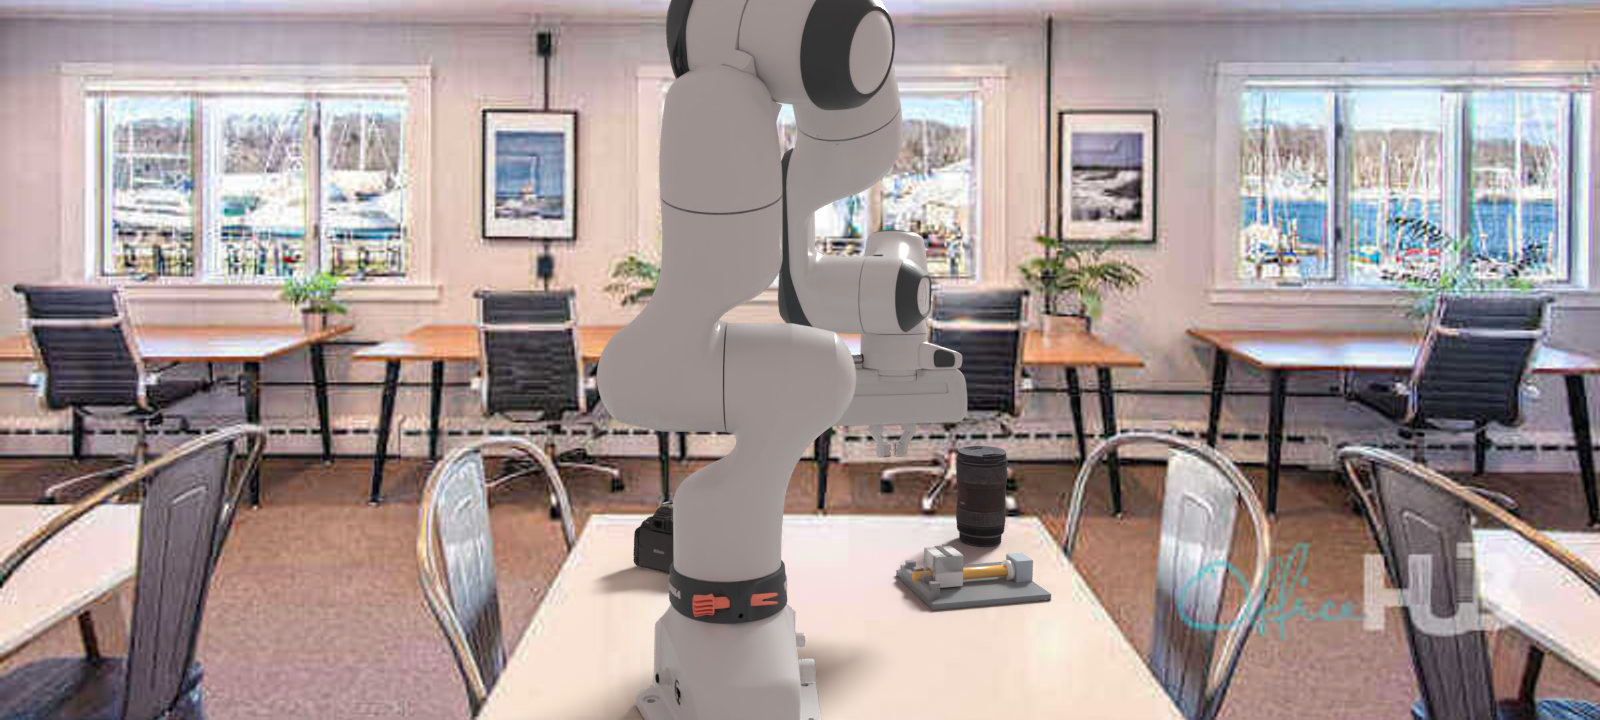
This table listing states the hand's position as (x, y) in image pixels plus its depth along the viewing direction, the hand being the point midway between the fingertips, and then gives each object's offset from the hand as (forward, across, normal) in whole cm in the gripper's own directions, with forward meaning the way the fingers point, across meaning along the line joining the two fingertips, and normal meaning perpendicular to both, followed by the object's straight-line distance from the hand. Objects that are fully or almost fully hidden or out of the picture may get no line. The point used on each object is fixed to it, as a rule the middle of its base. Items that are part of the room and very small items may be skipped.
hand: (891, 456), depth 126 cm
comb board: (+19, +12, 0) cm, 23 cm away
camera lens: (+19, +22, +20) cm, 36 cm away
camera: (+19, -27, +17) cm, 37 cm away
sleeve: (+18, +8, 0) cm, 20 cm away
